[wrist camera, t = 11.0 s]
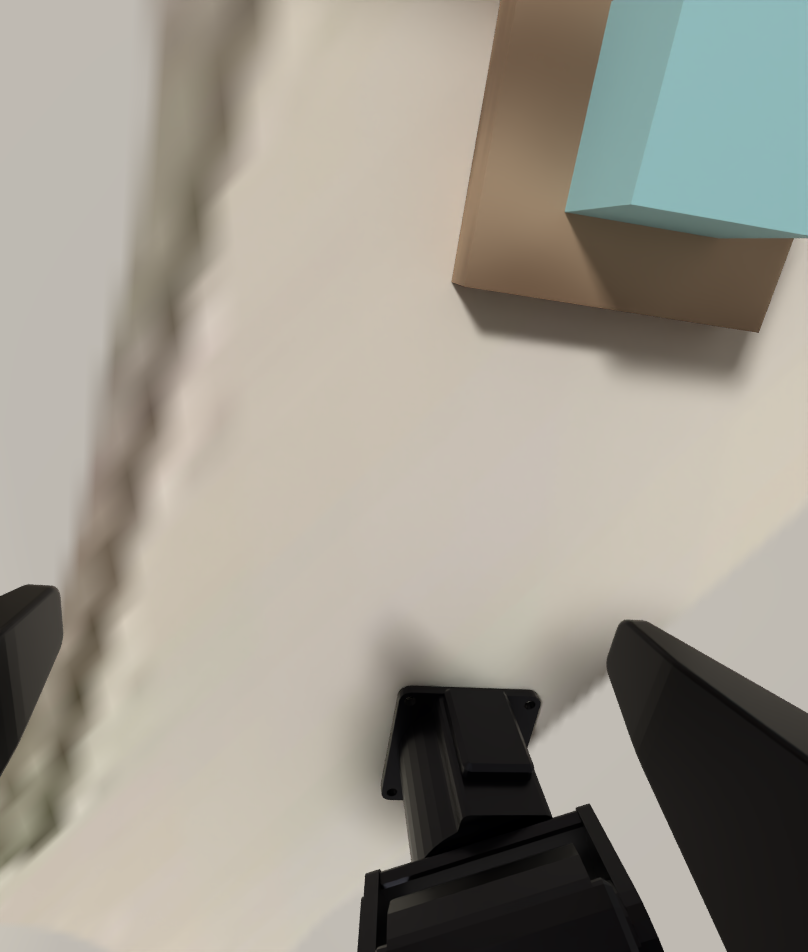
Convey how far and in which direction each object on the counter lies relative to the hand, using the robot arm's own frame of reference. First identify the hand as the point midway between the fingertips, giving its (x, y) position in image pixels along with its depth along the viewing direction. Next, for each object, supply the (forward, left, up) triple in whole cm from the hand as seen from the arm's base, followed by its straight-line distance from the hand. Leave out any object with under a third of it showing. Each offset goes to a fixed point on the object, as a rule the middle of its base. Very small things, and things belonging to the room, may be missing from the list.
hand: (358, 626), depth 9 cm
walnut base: (+10, -8, -12) cm, 18 cm away
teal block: (+10, -8, -10) cm, 16 cm away
